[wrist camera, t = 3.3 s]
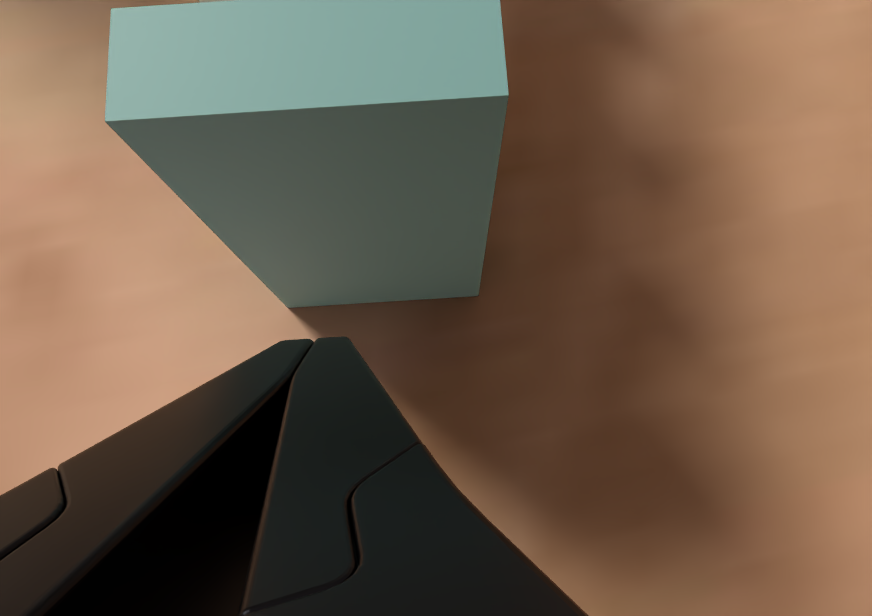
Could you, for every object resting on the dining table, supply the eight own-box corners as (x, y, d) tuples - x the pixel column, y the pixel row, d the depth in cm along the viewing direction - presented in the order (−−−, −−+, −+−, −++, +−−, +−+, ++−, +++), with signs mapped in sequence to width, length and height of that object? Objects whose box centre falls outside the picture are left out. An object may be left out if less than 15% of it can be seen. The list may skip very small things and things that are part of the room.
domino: (478, 295, 18) (508, 95, 9) (288, 308, 18) (104, 121, 9) (473, 237, 19) (498, -18, 9) (287, 250, 19) (110, 8, 9)
